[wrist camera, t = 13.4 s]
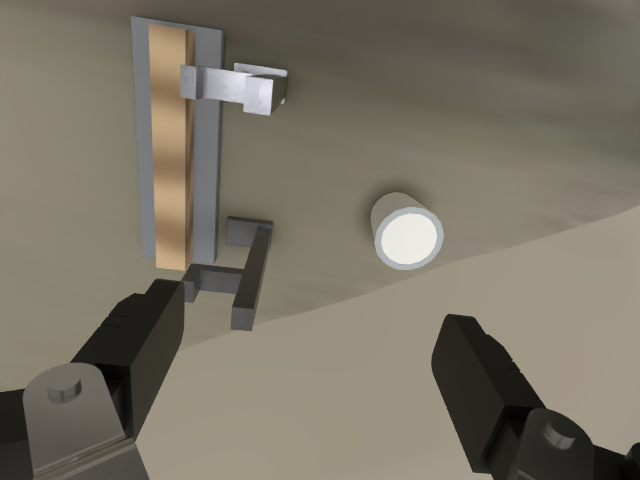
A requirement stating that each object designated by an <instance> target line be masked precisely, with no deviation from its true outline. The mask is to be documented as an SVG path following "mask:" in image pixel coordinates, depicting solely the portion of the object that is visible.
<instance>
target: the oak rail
mask: <svg viewBox="0 0 640 480" xmlns="http://www.w3.org/2000/svg"><path fill="white" fill-rule="evenodd" d="M149 53H150V84H151V115H152V146H153V177H154V208H155V239H156V267H157V268H167V269H176V270H186V268H187V267H188V265H189V263H190V262H191V260H192V258H193V180H194V99H189V98H182V97H180V64H181V65H195V32H192V31H189V30H186V29H180V28H174V27H167V26H161V25H155V24H149Z"/></svg>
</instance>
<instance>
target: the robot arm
mask: <svg viewBox="0 0 640 480" xmlns="http://www.w3.org/2000/svg"><path fill="white" fill-rule="evenodd" d="M184 300H185V286H184V282H182V281H174V280H166V279H156V280H155V281H154V282H153V283H152V285H151V286H150V287H149V289H148V290H147V292H146V293H145V294H137V293H134V294H132V295H130V296H129V297H127V298H125V299H124V300H122V301H120V302H119V303H118V304H117V305H116V306H115V308H114V309H113V310H112V311H111V312H110V314H109V317H106V319H105V320H104V321H103V322H102V324H101V326H100V327H98V328H97V330H96V331H95V332H94V333H93V335H92V336H91V337H90V338H89V340H88V341H87V342H86V343H85V344H84V346H83V347H82V348H81V349H80V351H79V352H78V353H77V354H76V356H75V357H74V358H73V359H72V360H71V362H70V363H68V364H63V365H59V366H56V367H53V368H51V369H49V370H46V371H45V372H43V373H41V374H39V375H38V376H37V377H35V378H34V379H33V380H32V381H31V382H30V383H29V384H28V385H27V387H26V388H25V389H19V390H13V391H6V392H0V480H150V479H149V477H148V474H147V472H146V469H145V466H144V464H143V461H142V459H141V456H140V454H139V451H138V448H137V446H136V444H135V441H136V439H137V436H138V434H139V432H140V430H141V428H142V426H143V424H144V421H145V419H146V417H147V415H148V413H149V411H150V409H151V406H152V404H153V402H154V400H155V398H156V395H157V393H158V391H159V389H160V387H161V385H162V383H163V381H164V378H165V376H166V374H167V372H168V370H169V368H170V366H171V363H172V361H173V359H174V357H175V355H176V353H177V351H178V348H179V346H180V343H181V340H182V336H183V331H184ZM431 365H432V372H433V375H434V377H435V380H436V382H437V385H438V387H439V390H440V392H441V395H442V397H443V400H444V402H445V405H446V407H447V410H448V412H449V415H450V417H451V419H452V422H453V424H454V427H455V429H456V432H457V434H458V437H459V439H460V442H461V444H462V447H463V449H464V451H465V454H466V457H467V459H468V461H469V464H470V466H471V469H472V471H473V472H475V473H486V474H491V475H492V477H493V479H494V480H640V443H636V444H634V445H633V446H632V448H631V449H630V450H629V452H628V453H627V455H626V456H625V455H622V454H619V453H616V452H613V451H610V450H608V449H605V448H602V447H599V446H596V445H593V443H592V442H591V440H590V438H589V436H588V435H587V434H586V433H585V431H584V430H583V429H582V428H580V426H578V425H577V424H576V423H575V422H573V421H572V420H570V419H569V418H567V417H566V416H564V415H562V414H560V413H557V412H555V411H553V410H549V409H547V408H546V407H545V405H544V404H543V402H542V401H541V400H540V398H539V397H538V395H537V394H536V393H535V391H534V390H533V388H532V387H531V385H530V384H529V382H528V381H527V380H526V378H525V377H524V375H523V374H522V373H520V370H519V368H518V367H517V365H516V364H515V363H514V362H512V358H511V357H510V355H509V354H508V352H507V351H506V350H505V348H504V347H503V346H502V345H501V344H500V343H499V342H497V341H496V340H495V339H494V338H493V337H491V336H490V335H487V334H485V332H484V331H483V329H482V328H481V326H480V325H479V323H478V322H477V320H476V319H475V318H474V317H471V316H463V315H455V314H448V315H447V316H446V317H445V319H444V321H443V324H442V327H441V330H440V333H439V336H438V339H437V342H436V345H435V347H434V350H433V354H432V361H431Z"/></svg>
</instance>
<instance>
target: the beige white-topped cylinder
mask: <svg viewBox="0 0 640 480" xmlns="http://www.w3.org/2000/svg"><path fill="white" fill-rule="evenodd" d="M370 219H371V225H372V231H373V237H374V243H375V247H376V250H377V254H378V256H379V257H380V258H381V259H382V260H383V262H384V263H385V264H387V265H389V266H391V267H393V268H395V269H401V270H412V269H415V268H419V267H422V266H424V265H425V264H427V263H428V262H430V261H431V260H433V259H434V257H435V256H436V254H437V253H438V252H439V250H440V249H441V246H442V242H443V238H444V234H443V228H442V224H441V223H440V221H439V220H438V218H437V217H436V216H435V214H433V213H432V212H431V211H429V210H428V209H427V208H425V207H424V206H423V205H421V204H420V203H419V202H417V201H416V200H415V199H413V198H412V197H410V196H408V195H407V194H405V193H398V192H393V193H390V194H386V195H384V196H383V197H382V198H380V199H379V200H377V202H376V203H375V205H374V206H373V208H372V211H371V217H370Z"/></svg>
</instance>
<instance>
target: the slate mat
mask: <svg viewBox="0 0 640 480" xmlns="http://www.w3.org/2000/svg"><path fill="white" fill-rule="evenodd" d="M149 24H155V25H161V26H167V27H174V28H180V29H186V30H189V31H192V32H195V65H196V66H203V67H209V68H216V69H223V70H224V44H225V32H224V31H222V30H216V29H210V28H203V27H197V26H191V25H185V24H178V23H172V22H166V21H159V20H153V19H147V18H141V17H134V16H131V29H132V50H133V71H134V92H135V113H136V134H137V155H138V176H139V197H140V218H141V239H142V256H144V257H153V258H156V239H155V208H154V177H153V146H152V115H151V84H150V53H149ZM221 124H222V100H217V99H210V98H200V99H194V180H193V258H192V260H191V262H199V263H208V264H214V262H215V260H216V257H217V231H218V204H219V177H220V151H221Z"/></svg>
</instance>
